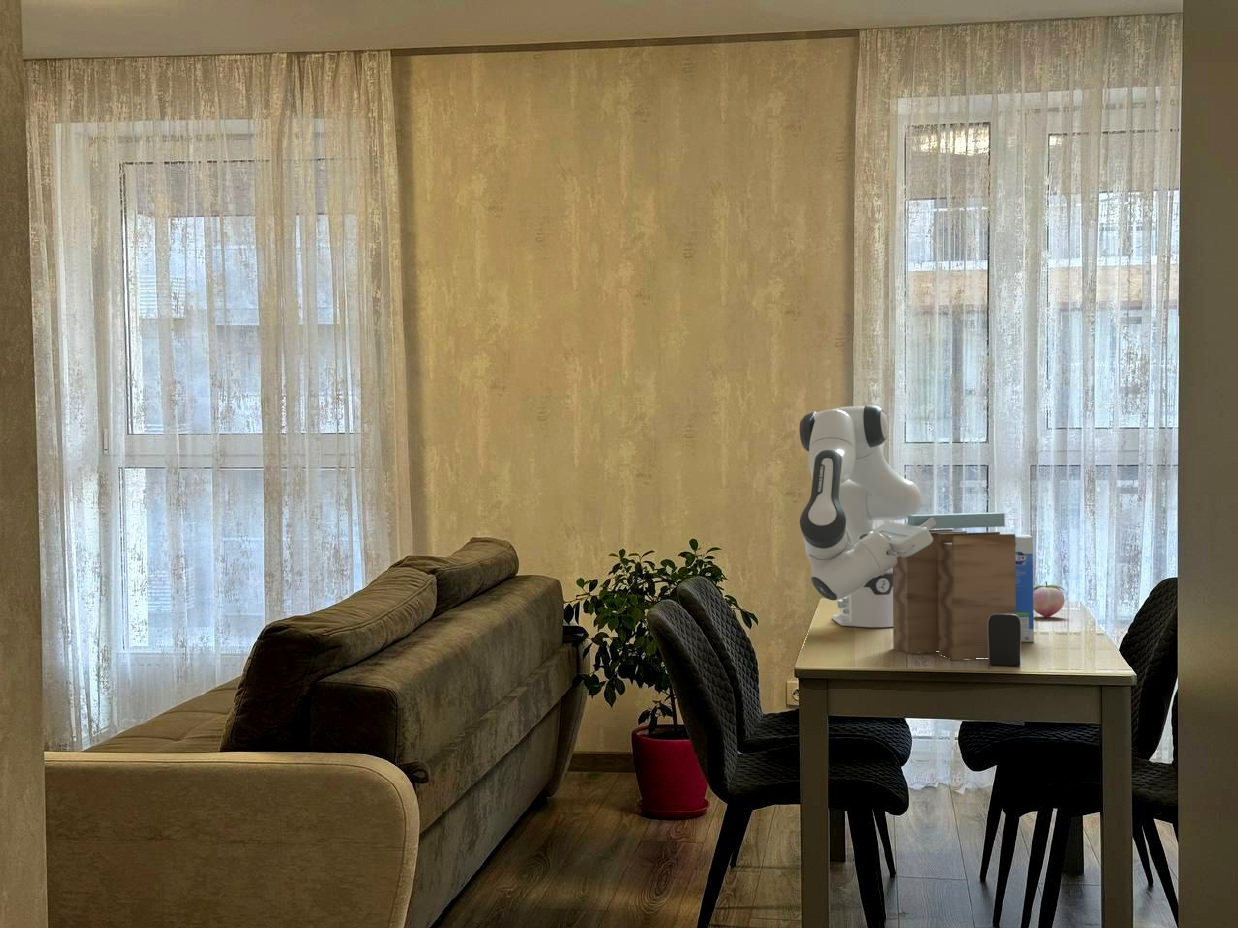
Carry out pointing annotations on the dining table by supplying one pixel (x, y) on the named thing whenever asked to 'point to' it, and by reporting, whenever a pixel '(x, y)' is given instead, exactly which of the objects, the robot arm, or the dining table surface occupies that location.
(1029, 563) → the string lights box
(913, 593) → the left post
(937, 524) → the batten
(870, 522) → the robot arm
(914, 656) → the dining table surface
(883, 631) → the dining table surface
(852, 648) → the dining table surface
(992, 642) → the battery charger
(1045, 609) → the decorative fruit
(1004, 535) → the right post
